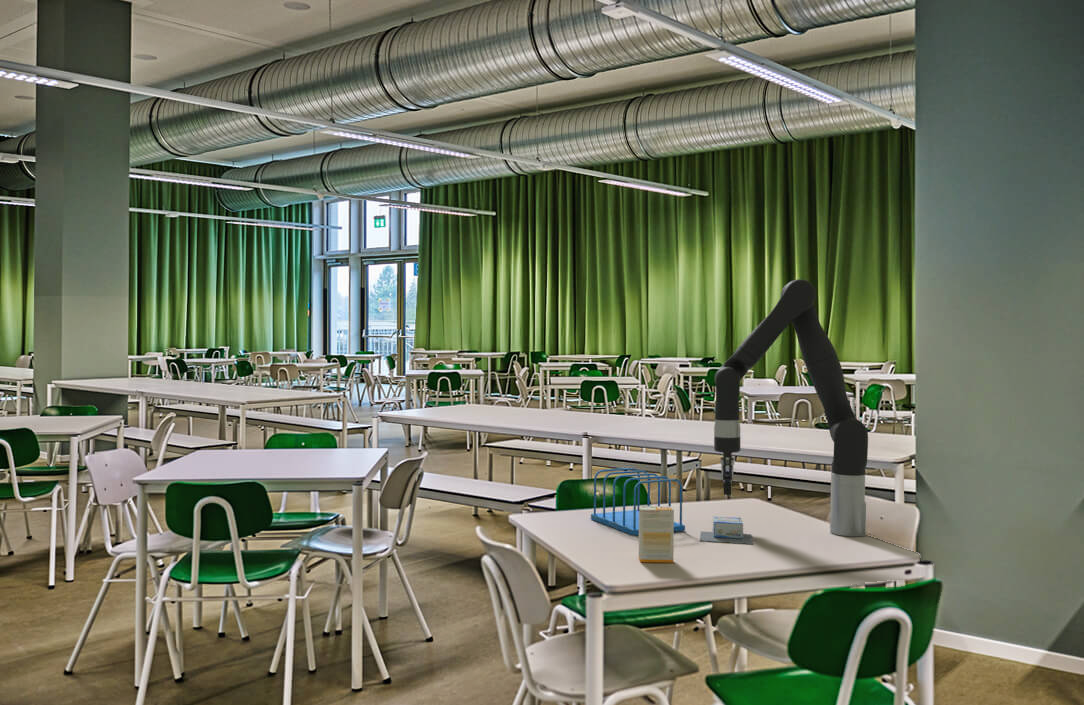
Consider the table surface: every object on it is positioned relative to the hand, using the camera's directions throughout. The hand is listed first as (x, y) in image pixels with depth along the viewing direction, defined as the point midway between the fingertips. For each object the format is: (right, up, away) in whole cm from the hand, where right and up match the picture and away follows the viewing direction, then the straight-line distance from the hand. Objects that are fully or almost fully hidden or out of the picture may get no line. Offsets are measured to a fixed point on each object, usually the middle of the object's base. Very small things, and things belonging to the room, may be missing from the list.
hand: (727, 494), depth 256 cm
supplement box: (-26, -10, -41) cm, 50 cm away
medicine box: (-2, -7, -7) cm, 11 cm away
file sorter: (-26, -10, +2) cm, 28 cm away
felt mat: (-3, -10, -14) cm, 18 cm away
